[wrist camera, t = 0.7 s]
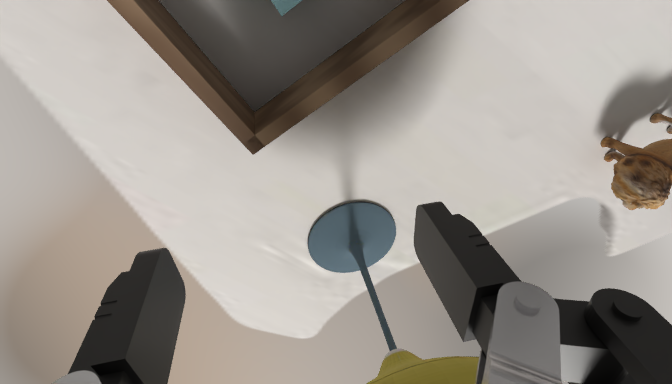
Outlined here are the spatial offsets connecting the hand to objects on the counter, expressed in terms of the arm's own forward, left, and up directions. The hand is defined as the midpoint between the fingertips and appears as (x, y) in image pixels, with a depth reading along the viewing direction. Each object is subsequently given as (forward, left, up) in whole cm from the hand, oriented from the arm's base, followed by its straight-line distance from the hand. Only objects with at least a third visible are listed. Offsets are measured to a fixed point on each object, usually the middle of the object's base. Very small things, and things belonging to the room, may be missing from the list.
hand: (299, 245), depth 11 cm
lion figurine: (-30, +32, -22) cm, 49 cm away
